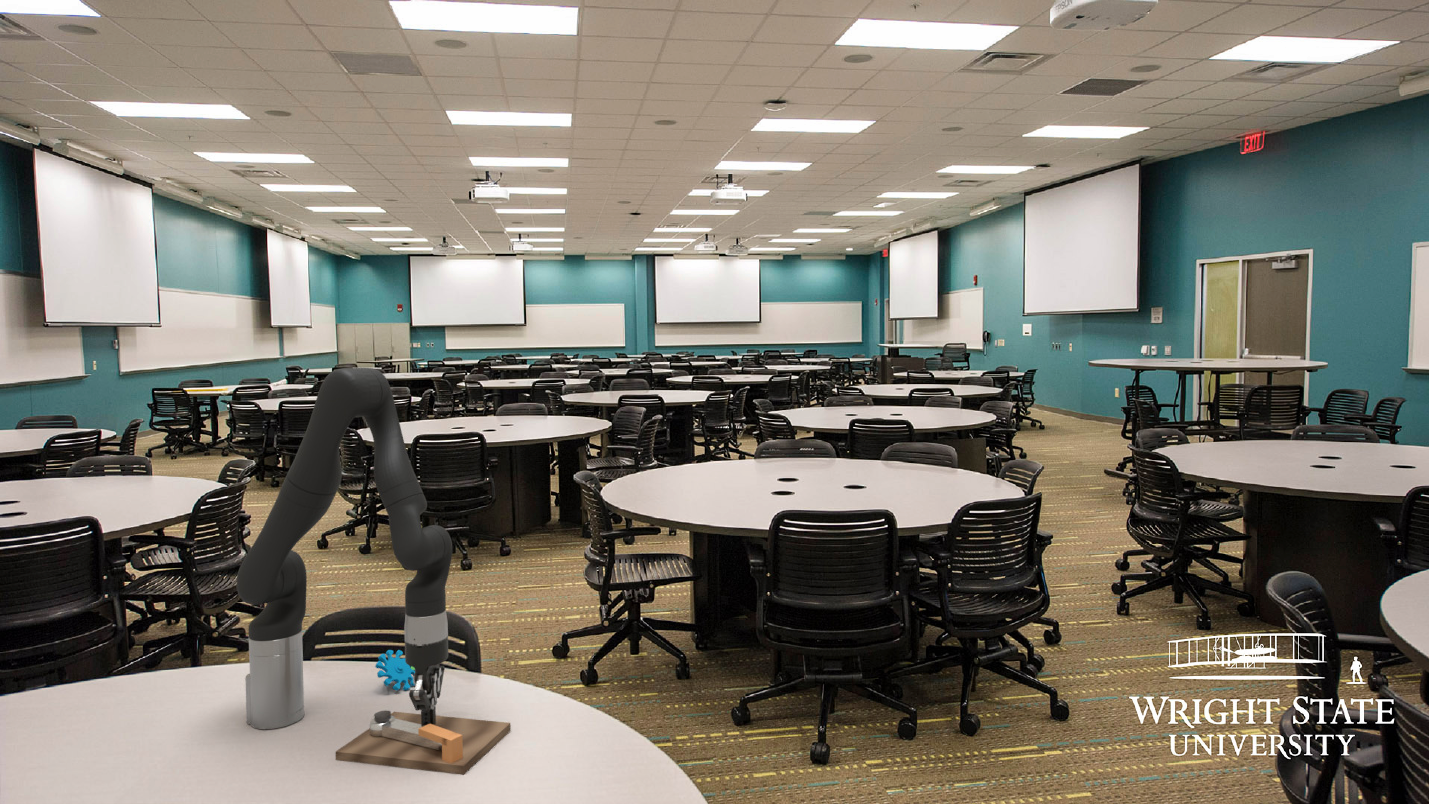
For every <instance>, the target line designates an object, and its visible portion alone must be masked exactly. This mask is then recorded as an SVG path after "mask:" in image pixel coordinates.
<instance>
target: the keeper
mask: <svg viewBox="0 0 1429 804" xmlns="http://www.w3.org/2000/svg"><path fill="white" fill-rule="evenodd" d="M418 733H419V736H422V737H425V738H427V739H430V740H433V741H435V742H438V743H441V744H442V760H444V761H446V762H449V763H451V764H452V763H453V762H455V761H457V760H459V759H461V758H463V743H462V735H461V734H458V733H455V732H452V731H449V730H447V729H444V728H441V727H438V726H435V725H433V724H428V725H425V726H423V727H421V728H419V729H418Z"/></svg>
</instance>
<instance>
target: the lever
mask: <svg viewBox="0 0 1429 804" xmlns="http://www.w3.org/2000/svg"><path fill="white" fill-rule="evenodd" d="M423 726H425V725H421V724H417V723H413V722H408V721H404V720H400V719H395V717H394V716H391V719H390V720H388V721H385V722H375V718H372V719H371V720H370V722H369V728H370V734H371V735H372V736H383V737H388V738H392V739H396V740H400V741H404V742H408V743H412V744H416V745H420V746H424V747H428V748H432V749H436V750H442V744H441V743H438V742H435V741H433V740H430V739H427V738H425V737H422V736H419V733H418V729H419V728H421V727H423Z"/></svg>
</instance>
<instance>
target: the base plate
mask: <svg viewBox="0 0 1429 804" xmlns="http://www.w3.org/2000/svg"><path fill="white" fill-rule="evenodd" d="M391 716H394V717H395V719H400V720H404V721H408V722H413V723H417V724H421V713H412V712H404V711H393V712H391V711H390V710H380V711H377V712H375V713H374V718H375V722H385V721H388V720H390V719H391ZM374 718H373V719H374ZM435 726H438V727H441V728H444V729H447V730H449V731H452V732H455V733H458V734H461V735H462V743H463V758H461V759H459V760H457V761H455V762H453V763H452V764H451V763H449V762H446V761H444V760H442V750H436V749H432V748H428V747H424V746H420V745H416V744H412V743H408V742H404V741H400V740H396V739H392V738H388V737H383V736H372V735H371V734H370V727H369V728H368V729H366V730H365V731H364V732H362V733H360V734H359V735H358V736H356V737H355V738H353V739H352V740H350V741H349V742H347V743H346V744H344V745H343V746H342V747H340V748H339V749H337V750H336V751H335V760H336V761H344V762H350V763H360V764H366V765H367V764H369V765H378V766H385V767H386V766H387V767H395V768H404V769H414V770H422V771H428V772H429V771H430V772H431V771H432V772H437V773H440V772H441V773H447V774H458V775H465V774H466V773H467V772H468V771H469V770H470V769H471V768H472V767H473V766H474V765H475V764H477V763H478V762H479V761H480V760H482V758H483V757H484V756H485V755H486V754H488V752H489V751H491V750H492V748H494V747H495V746H496V745H497V744H498V743H499V742H500V741H502V739H504V737H505V736H506V735H507V734H508V733H510V732H511V729H512V728H511V722H505V721H494V720H485V719H484V720H483V719H475V718H464V717H453V716H444V715H436V724H435Z"/></svg>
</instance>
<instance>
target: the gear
mask: <svg viewBox="0 0 1429 804" xmlns="http://www.w3.org/2000/svg"><path fill="white" fill-rule="evenodd" d="M393 654H394V650H392V649H388V650H387V651H386V652H385V653H381V654H379V656H378V657H377V659H378V661H377V662H376V664H375V666H374V667H375V668H376V669H380V670H379V671H378V672H377V673H376V674H377V678H379V679H380V678H381V679H382V678H383V677H385V680H384V681H382V683H383V685H385V687H389V686H390V685H391V683H393V682H395V684H394V685H392V690H394V691H396V692H397V691H399V690H400V689H401V683H403V684H404V685H403V687H402V690H403V691H410V690H411V687H415V684H414V683H413V675H414V674H415V668H414V667H412V666H409V665H408V664H407V663H406V662H405V657H403V658H400V657H401V656H402V655H403V654H404V652H403V651H402V650H400V649H398V650H397V651H396V652H395V657H393V656H392V655H393ZM386 657H387V658H386Z"/></svg>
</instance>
